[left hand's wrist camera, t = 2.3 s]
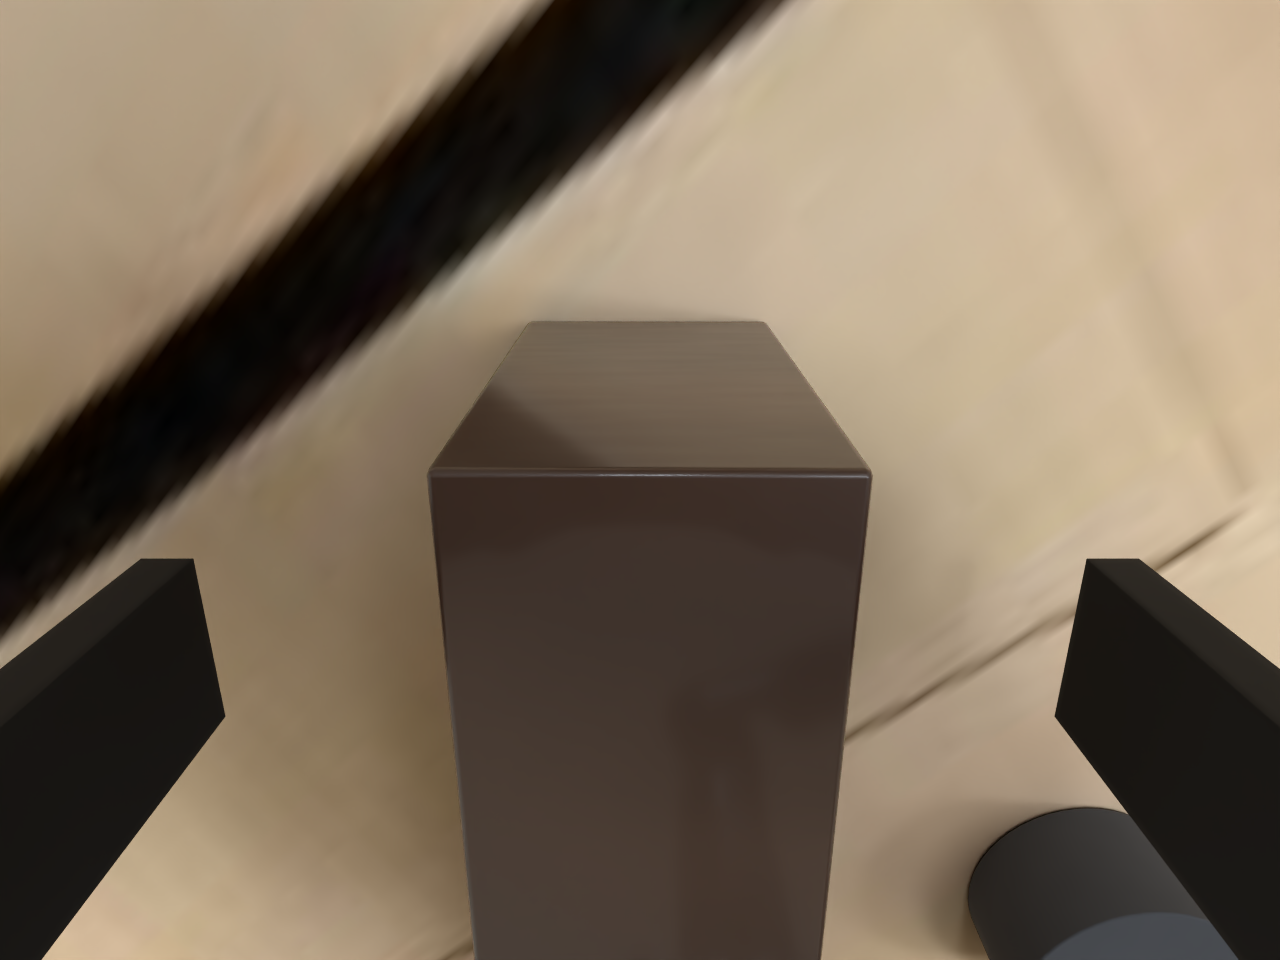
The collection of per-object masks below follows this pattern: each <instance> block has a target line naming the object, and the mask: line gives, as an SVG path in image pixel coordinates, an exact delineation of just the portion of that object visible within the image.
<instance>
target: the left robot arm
mask: <svg viewBox="0 0 1280 960" xmlns="http://www.w3.org/2000/svg"><path fill="white" fill-rule="evenodd" d="M224 718H225V712H224V707H223V702H222V697H221V692H220V688H219V683H218V678H217V673H216V668H215V663H214V658H213V653H212V648H211V643H210V638H209V634H208V629H207V624H206V619H205V614H204V609H203V604H202V599H201V594H200V589H199V584H198V580H197V575H196V570H195V565H194V560H193V559H140V560H139V561H138V562H136V563H135V564H134V565H132V566H131V567H130V568H129V569H127V570H126V571H125V572H124V573H122V574H121V575H120V576H118V577H117V578H116V579H115V580H113V581H112V582H111V583H109V584H108V585H107V586H106V587H104V588H103V589H102V590H101V591H99V592H98V593H97V594H95V595H94V596H93V597H92V598H90V599H89V600H88V601H86V602H85V603H84V604H83V605H81V606H80V607H79V608H78V609H76V610H75V611H74V612H72V613H71V614H70V615H69V616H67V617H66V618H65V619H63V620H62V621H61V622H60V623H58V624H57V625H56V626H55V627H53V628H52V629H51V630H49V631H48V632H47V633H46V634H44V635H43V636H42V637H41V638H39V639H38V640H37V641H35V642H34V643H33V644H32V645H30V646H29V647H28V648H26V649H25V650H24V651H23V652H21V653H20V654H19V655H18V656H16V657H15V658H14V659H12V660H11V661H10V662H9V663H7V664H6V665H5V666H3V667H2V668H1V669H0V960H42V958H43V957H44V956H45V954H46V953H47V952H48V950H49V949H50V948H51V946H52V945H53V944H54V942H55V941H56V940H57V938H58V937H59V936H60V934H61V933H62V932H63V930H64V929H65V928H66V927H67V925H68V924H69V923H70V921H71V920H72V919H73V917H74V916H75V915H76V913H77V912H78V911H79V909H80V908H81V907H82V905H83V904H84V903H85V901H86V900H87V899H88V897H89V896H90V895H91V893H92V892H93V891H94V889H95V888H96V887H97V886H98V884H99V883H100V882H101V880H102V879H103V878H104V876H105V875H106V874H107V872H108V871H109V870H110V868H111V867H112V866H113V864H114V863H115V862H116V860H117V859H118V858H119V856H120V855H121V854H122V852H123V851H124V850H125V848H126V847H127V846H128V845H129V843H130V842H131V841H132V839H133V838H134V837H135V835H136V834H137V833H138V831H139V830H140V829H141V827H142V826H143V825H144V823H145V822H146V821H147V819H148V818H149V817H150V815H151V814H152V813H153V811H154V810H155V809H156V807H157V806H158V805H159V804H160V802H161V801H162V800H163V798H164V797H165V796H166V794H167V793H168V792H169V790H170V789H171V788H172V786H173V785H174V784H175V782H176V781H177V780H178V778H179V777H180V776H181V774H182V773H183V772H184V770H185V769H186V768H187V766H188V765H189V764H190V763H191V761H192V760H193V759H194V757H195V756H196V755H197V753H198V752H199V751H200V749H201V748H202V747H203V745H204V744H205V743H206V741H207V740H208V739H209V737H210V736H211V735H212V733H213V732H214V731H215V729H216V728H217V727H218V725H219V724H220V723H221V722H222V720H223V719H224ZM1055 718H1056V719H1057V720H1058V722H1059V723H1060V724H1061V725H1062V727H1063V728H1064V729H1065V731H1066V732H1067V733H1068V735H1069V736H1070V737H1071V739H1072V740H1073V741H1074V743H1075V744H1076V745H1077V747H1078V748H1079V749H1080V751H1081V752H1082V753H1083V755H1084V756H1085V757H1086V759H1087V760H1088V761H1089V763H1090V764H1091V765H1092V766H1093V768H1094V769H1095V770H1096V772H1097V773H1098V774H1099V776H1100V777H1101V778H1102V780H1103V781H1104V782H1105V784H1106V785H1107V786H1108V788H1109V789H1110V790H1111V792H1112V793H1113V794H1114V796H1115V797H1116V798H1117V800H1118V801H1119V802H1120V804H1121V805H1122V806H1123V807H1124V809H1125V810H1126V811H1127V813H1128V814H1129V815H1130V817H1131V818H1132V819H1133V821H1134V822H1135V823H1136V825H1137V826H1138V827H1139V829H1140V830H1141V831H1142V833H1143V834H1144V835H1145V837H1146V838H1147V839H1148V841H1149V842H1150V843H1151V845H1152V846H1153V847H1154V848H1155V850H1156V851H1157V852H1158V854H1159V855H1160V856H1161V858H1162V859H1163V860H1164V862H1165V863H1166V864H1167V866H1168V867H1169V868H1170V870H1171V871H1172V872H1173V874H1174V875H1175V876H1176V878H1177V879H1178V880H1179V882H1180V883H1181V884H1182V886H1183V887H1184V888H1185V889H1186V891H1187V892H1188V893H1189V895H1190V896H1191V897H1192V899H1193V900H1194V901H1195V903H1196V904H1197V905H1198V907H1199V908H1200V909H1201V911H1202V912H1203V913H1204V915H1205V916H1206V917H1207V919H1208V920H1209V921H1210V923H1211V924H1212V925H1213V927H1214V928H1215V929H1216V930H1217V932H1218V933H1219V934H1220V936H1221V937H1222V938H1223V940H1224V941H1225V942H1226V944H1227V945H1228V946H1229V948H1230V949H1231V950H1232V952H1233V953H1234V954H1235V956H1236V957H1237V958H1238V960H1280V669H1279V668H1278V667H1277V666H1275V665H1274V664H1273V663H1271V662H1270V661H1269V660H1268V659H1266V658H1265V657H1264V656H1262V655H1261V654H1260V653H1259V652H1257V651H1256V650H1255V649H1254V648H1252V647H1251V646H1250V645H1248V644H1247V643H1246V642H1245V641H1243V640H1242V639H1241V638H1239V637H1238V636H1237V635H1236V634H1234V633H1233V632H1232V631H1231V630H1229V629H1228V628H1227V627H1225V626H1224V625H1223V624H1222V623H1220V622H1219V621H1218V620H1217V619H1215V618H1214V617H1213V616H1211V615H1210V614H1209V613H1208V612H1206V611H1205V610H1204V609H1202V608H1201V607H1200V606H1199V605H1197V604H1196V603H1195V602H1194V601H1192V600H1191V599H1190V598H1188V597H1187V596H1186V595H1185V594H1183V593H1182V592H1181V591H1179V590H1178V589H1177V588H1176V587H1174V586H1173V585H1172V584H1171V583H1169V582H1168V581H1167V580H1165V579H1164V578H1163V577H1162V576H1160V575H1159V574H1158V573H1156V572H1155V571H1154V570H1153V569H1151V568H1150V567H1149V566H1148V565H1146V564H1145V563H1144V562H1142V561H1141V560H1140V559H1087V560H1086V565H1085V570H1084V575H1083V580H1082V584H1081V589H1080V594H1079V599H1078V604H1077V609H1076V614H1075V619H1074V624H1073V629H1072V634H1071V638H1070V643H1069V648H1068V653H1067V658H1066V663H1065V668H1064V673H1063V678H1062V683H1061V688H1060V692H1059V697H1058V702H1057V707H1056V712H1055Z"/></svg>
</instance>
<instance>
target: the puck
mask: <svg viewBox="0 0 1280 960" xmlns="http://www.w3.org/2000/svg"><path fill="white" fill-rule="evenodd" d="M968 902H969V910H970V914H971V918H972V920H973V922H974V925H975V927H976V929H977V932H978V934H979V936H980V939H981V941H982V943H983V946H984V948H985V950H986V953H987V955H988V957H989V960H1238V958H1237V957H1236V956H1235V954H1234V953H1233V952H1232V950H1231V949H1230V948H1229V946H1228V945H1227V944H1226V942H1225V941H1224V940H1223V938H1222V937H1221V936H1220V934H1219V933H1218V932H1217V930H1216V929H1215V928H1214V927H1213V925H1212V924H1211V923H1210V921H1209V920H1208V919H1207V917H1206V916H1205V915H1204V913H1203V912H1202V911H1201V909H1200V908H1199V907H1198V905H1197V904H1196V903H1195V901H1194V900H1193V899H1192V897H1191V896H1190V895H1189V893H1188V892H1187V891H1186V889H1185V888H1184V887H1183V886H1182V884H1181V883H1180V882H1179V880H1178V879H1177V878H1176V876H1175V875H1174V874H1173V872H1172V871H1171V870H1170V868H1169V867H1168V866H1167V864H1166V863H1165V862H1164V860H1163V859H1162V858H1161V856H1160V855H1159V854H1158V852H1157V851H1156V850H1155V848H1154V847H1153V846H1152V845H1151V843H1150V842H1149V841H1148V839H1147V838H1146V837H1145V835H1144V834H1143V833H1142V831H1141V830H1140V829H1139V827H1138V826H1137V825H1136V823H1135V822H1134V821H1133V819H1132V818H1131V817H1130V815H1127V814H1124V813H1120V812H1117V811H1112V810H1106V809H1095V808H1082V809H1071V810H1064V811H1059V812H1055V813H1051V814H1047V815H1044V816H1041V817H1039V818H1036V819H1033V820H1031V821H1029V822H1027V823H1025V824H1022V825H1021V826H1019V827H1017V828H1016V829H1014V830H1012V831H1011V832H1009V833H1008V834H1006V835H1005V836H1004V837H1002V838H1001V839H1000V840H999V841H998V842H997V843H995V844H994V845H993V846H992V847H991V848H990V849H989V851H988V852H987V853H986V854H985V855H984V857H983V858H982V859H981V861H980V862H979V864H978V866H977V867H976V869H975V872H974V874H973V876H972V879H971V883H970V886H969V895H968Z"/></svg>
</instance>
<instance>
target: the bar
mask: <svg viewBox="0 0 1280 960" xmlns="http://www.w3.org/2000/svg"><path fill="white" fill-rule="evenodd" d="M872 478H873V475H872V472H871V470H870V468H869V467H868V465H867V464H866V463H865V461H864V460H863V458H862V457H861V456H860V454H859V453H858V451H857V450H856V449H855V447H854V446H853V444H852V443H851V442H850V440H849V439H848V437H847V436H846V435H845V433H844V432H843V430H842V429H841V428H840V426H839V425H838V423H837V422H836V421H835V419H834V418H833V416H832V415H831V414H830V412H829V411H828V409H827V408H826V407H825V405H824V404H823V402H822V401H821V400H820V398H819V397H818V395H817V394H816V393H815V391H814V390H813V388H812V387H811V386H810V384H809V383H808V381H807V380H806V379H805V377H804V376H803V374H802V373H801V372H800V370H799V369H798V367H797V366H796V365H795V363H794V362H793V360H792V359H791V358H790V356H789V355H788V353H787V352H786V351H785V349H784V348H783V346H782V345H781V344H780V342H779V341H778V339H777V338H776V337H775V335H774V334H773V332H772V331H771V330H770V328H769V327H768V325H767V324H766V323H764V322H530V323H528V325H527V326H526V328H525V329H524V331H523V332H522V334H521V335H520V336H519V338H518V339H517V341H516V342H515V344H514V345H513V347H512V348H511V350H510V351H509V353H508V354H507V355H506V357H505V358H504V360H503V361H502V363H501V364H500V366H499V367H498V369H497V370H496V372H495V373H494V375H493V376H492V377H491V379H490V380H489V382H488V383H487V385H486V386H485V388H484V389H483V391H482V392H481V394H480V395H479V397H478V398H477V399H476V401H475V402H474V404H473V405H472V407H471V408H470V410H469V411H468V413H467V414H466V416H465V417H464V419H463V420H462V421H461V423H460V424H459V426H458V427H457V429H456V430H455V432H454V433H453V435H452V436H451V438H450V439H449V441H448V442H447V443H446V445H445V446H444V448H443V449H442V451H441V452H440V454H439V455H438V457H437V458H436V460H435V461H434V463H433V464H432V465H431V467H430V468H429V470H428V473H427V481H428V491H429V502H430V512H431V522H432V532H433V542H434V553H435V563H436V573H437V583H438V593H439V604H440V614H441V624H442V634H443V644H444V655H445V665H446V675H447V685H448V695H449V706H450V716H451V726H452V736H453V746H454V757H455V767H456V777H457V787H458V797H459V808H460V818H461V828H462V838H463V848H464V859H465V869H466V879H467V889H468V899H469V910H470V920H471V930H472V940H473V950H474V960H821V955H822V946H823V936H824V927H825V918H826V908H827V899H828V889H829V880H830V871H831V861H832V852H833V843H834V833H835V824H836V815H837V805H838V796H839V787H840V777H841V768H842V759H843V749H844V740H845V731H846V721H847V712H848V703H849V693H850V684H851V675H852V665H853V656H854V647H855V637H856V628H857V619H858V609H859V600H860V591H861V581H862V572H863V563H864V553H865V544H866V534H867V525H868V516H869V506H870V497H871V488H872Z"/></svg>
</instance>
